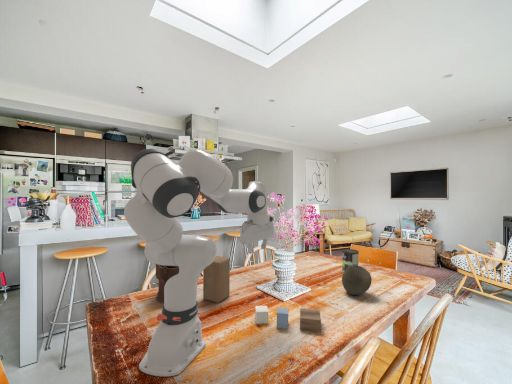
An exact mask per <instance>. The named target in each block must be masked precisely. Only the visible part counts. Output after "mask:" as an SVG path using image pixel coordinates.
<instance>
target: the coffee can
mask: <svg viewBox="0 0 512 384" xmlns="http://www.w3.org/2000/svg"><path fill="white" fill-rule="evenodd" d="M359 254H360V251H359V250H357V249H353V248H343V249H342V269H341V271H342V272H343V273H344V271H345V270H346V269H347V268H348V267H349V266H353V265H358V266H359V258H360V257H359Z"/></svg>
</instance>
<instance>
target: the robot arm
mask: <svg viewBox="0 0 512 384" xmlns="http://www.w3.org/2000/svg"><path fill="white" fill-rule="evenodd" d="M130 172H131V173H130V174H131V186H132V187H133V188H134V189H136V193H135V195H134V196H132V198H130V199H129V200H128V201H127V203H126V204H125V206H124V210H123V216H124V218H125V220H126V222H127V224H128V225H129V226H130V228H131V229H132V231H133V232H134V233H135V234H136V235H137V236H138V237H139V238H140V239H141V240H143V241H144V243H145V245H144V250H143V251H144V257H145V259H146V260H147V261H148V262H150V263H153V264H155V265H156V264H158V265H165V266H179V274H177V275H175V276H173V277H171V278H170V279H169V280H168V281H167V282H166V284H165V287H164V304H163V307H162V310H161V313H158V314H157V315H156V321H159V323H158V326H157V327H156V330H155V331H154V333H153V336H152V337H151V339H150V341H149V344H148V347H147V352H146V353H145V354H144V356H143V357H142V359H141V361H140V362H139V364H138V369H139V370H140V371H141V372H143V374H146V375H150V376H155V377H173V376H177V375H180V374H181V373H182V372H183V371H184V370H185V369H186V368H187V367H188V365H189V364H190V363H191V362H192V361H193V360H194V359H195V358H196V357H197V356H198V355H199V354H200V353H201V352H202V351H203V350H204V348H206V345H207V343H206V341H205V340H204V339H203V333H202V332H203V331H202V321H201V319H200V318H199V316H198V312H199V304H198V299H197V295H198V294H197V293H198V292H197V291H198V282H199V278H200V276H201V275H202V273H203V270H204V269H205V268H206V267H207V266H209V265H210V264H211V263H212V262H213V261H214V259H215V257H216V256H217V246H216V243H215V241H214V240H213V239H212V238H211V237H207V236H203V235H198V234H197V235H196V234H184V229H183V225H182V223H181V222H180V220H179V219H178V217H181V216H183V215H184V216H185V214H187V213H188V212H189V211H191V209H192V208H193V206H194V205H195V204H196V201H197V199H198V197H199V196H200V192H201V194H203V195H204V196H205V197H206V198H207V199H209V200H210V201H212V202H213V203H215V204H216V205H217V207H218V208H219V210H220V211H222V213H224V214H230V213H232V214H233V213H235V214H238V213H239V214H247V215H246V216H247V217H246V219H247V220H245V221H244V222H243V223H242V225H241V228H240V232H239V233H240V234H239V243H240V244H241V245H245V246H246V248H247V253H248V254H250V255H251V254H254V251H255V250H254V248H253V244H254V243H257V242H260V241H262V242H261V244H260V249H262V250H265V249H266V248H267V244H268V242H269V241H268V239H269V238H272V237H273V235H274V219H275V218H274V216H272V215H270V214H268V213H269V211H268V206H267V205H268V203H269V201H268V199H269V197H268V188H267V183H266V182H264V181H261V180H260V181H259V180H253V181H252V180H251V181H249V183H248V186H247V187H246V188H245V189H244V188H238V189H237V188H232V187H233V183H234V175H233V172H232V171H231V170H230V168H229V167H228V166H227V165H226V164H225V163H223V162H222V161H221V160H219V158H217V157H215V156H213V155H212V154H210V153H209V152H205V151H203V150H201V149H191V150H188V151H187V152H185V153H184V154H183V155H182V157H181V158H180V159H179V161H176V162H175V163H174V161H172V160H171V159H170V157H169V156H168V155H167V154H165V153H164V152H162V151H161V150H158V149H155V148H145V149H142V150H140V151H138V152H137V153H136V154H135V155H134V156H133V157H132V159H131V162H130Z"/></svg>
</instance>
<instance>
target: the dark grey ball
mask: <svg viewBox="0 0 512 384" xmlns="http://www.w3.org/2000/svg"><path fill="white" fill-rule="evenodd" d="M341 282H342V283H341V284H342V287H343V289H344V290H345V291H346V292H347V294H349V295H353V296H360V295H363V294H366V292H367V291H369V289H370V287H371V286H372V276H371V273H370V272H369V271H368V270H367V269H366V268H365V267H363V266H361V265H359V264H358V265H353V266H349V267H348V268H347V269H346V270H345V271H344V272H343V273H342V277H341Z"/></svg>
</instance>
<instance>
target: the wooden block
mask: <svg viewBox="0 0 512 384" xmlns="http://www.w3.org/2000/svg"><path fill="white" fill-rule="evenodd" d="M230 263H231V261H230V257H225V256H220V255H219V256H218V255H216V257H215V259H214V261H213V262H212V263H211V264H210V265H209V266H207V267H206V268H205V269H204V270H203V271H202V273H203V274H202V275H203V279H202V280H203V281H202V283H203V286H202V287H203V288H202V291H203V293H202V294H203V295H202V296H203V297H202V298H203V300H206V301H210V302H214V303H217V304H218V303H221V302H222V301H224V300H225V299H226V298H228V297H229V296H230V285H231V284H230V278H231V277H230V273H231V272H230V269H231V268H230V266H231V264H230Z"/></svg>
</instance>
